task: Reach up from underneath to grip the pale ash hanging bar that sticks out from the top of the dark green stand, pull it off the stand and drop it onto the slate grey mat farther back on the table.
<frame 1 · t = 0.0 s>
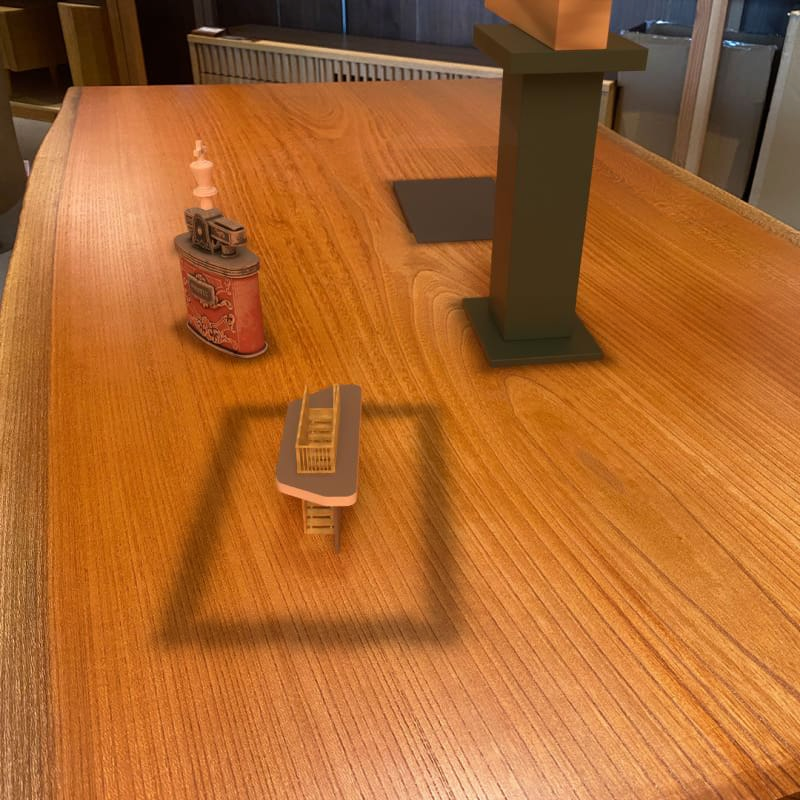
lighter: (227, 346, 61), on the table
stand: (527, 338, 62), on the table
ash bar: (537, 25, 54), point 21 cm above the table, touching stand
platform: (325, 515, 45), on the table
chess piece: (213, 254, 76), on the table
mat: (457, 213, 85), on the table
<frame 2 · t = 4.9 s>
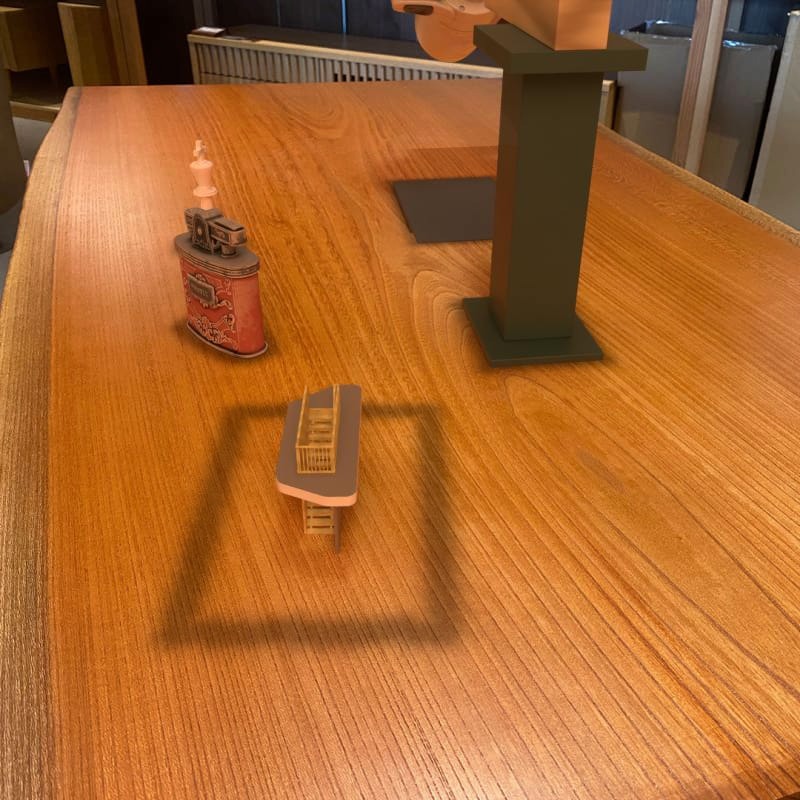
nothing on the table moved.
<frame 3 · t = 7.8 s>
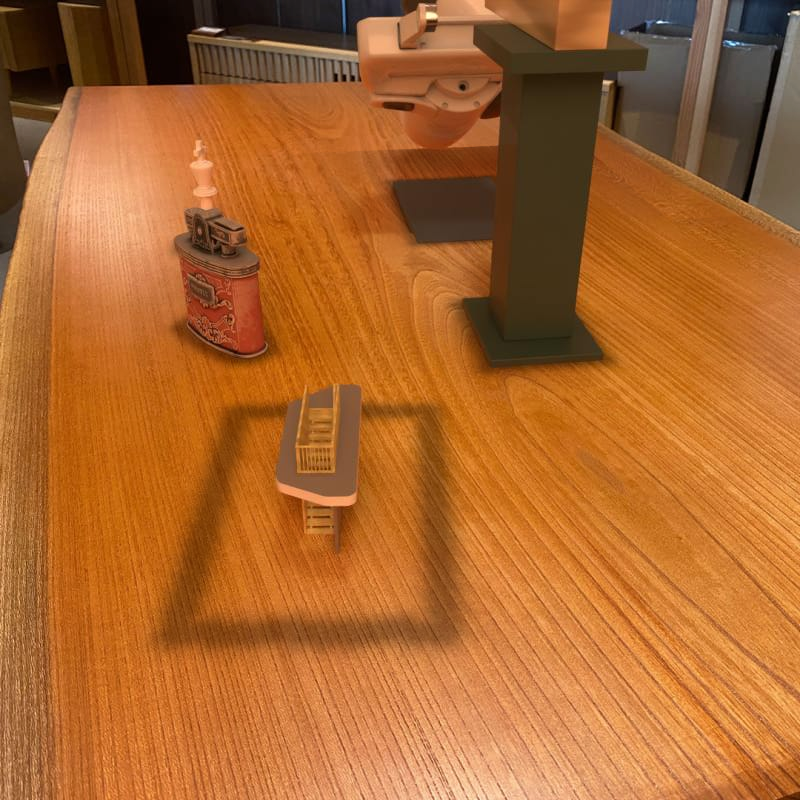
hand: (486, 11, 68), 20 cm above the table, tool pointing upward, fingers open, 8 cm apart
nothing on the table moved.
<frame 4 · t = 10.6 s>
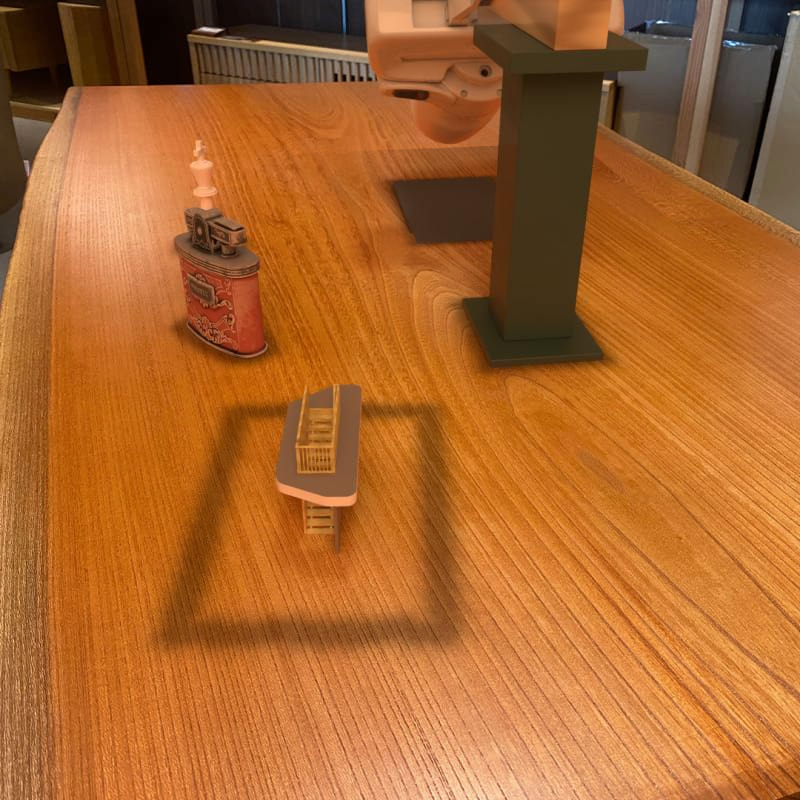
ash bar: (537, 25, 54), point 21 cm above the table, touching gripper, stand
everything else where it was.
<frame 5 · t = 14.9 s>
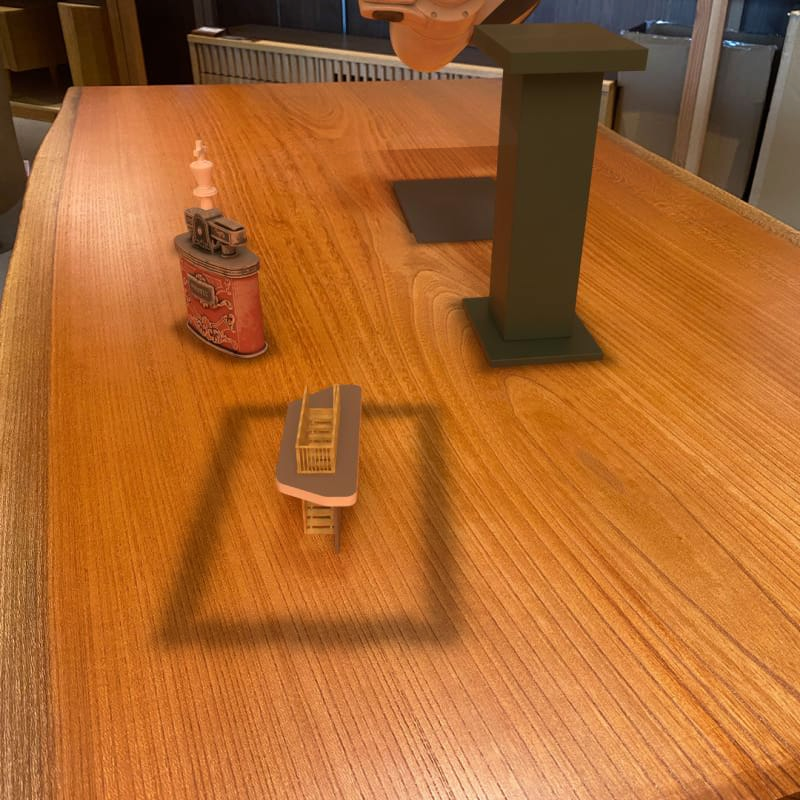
when the fingers open (17 cm above the table, at t = 19.6 s): ash bar drops 14 cm, resting on mat.
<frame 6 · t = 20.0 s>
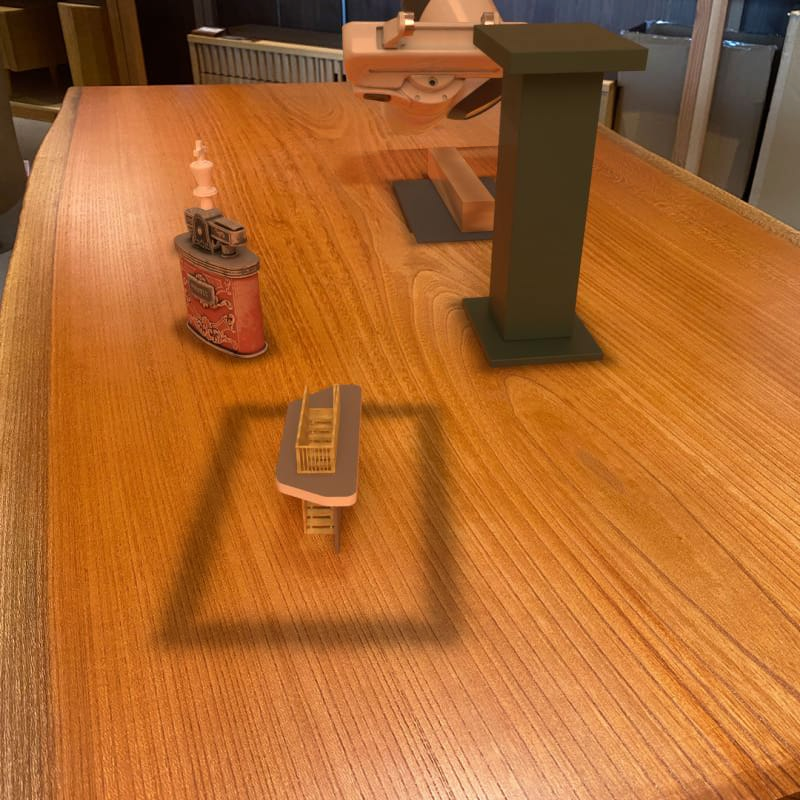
hand: (449, 19, 81), 17 cm above the table, tool pointing upward, fingers open, 7 cm apart
ash bar: (457, 200, 86), point 1 cm above the table, touching mat
everything else where it was.
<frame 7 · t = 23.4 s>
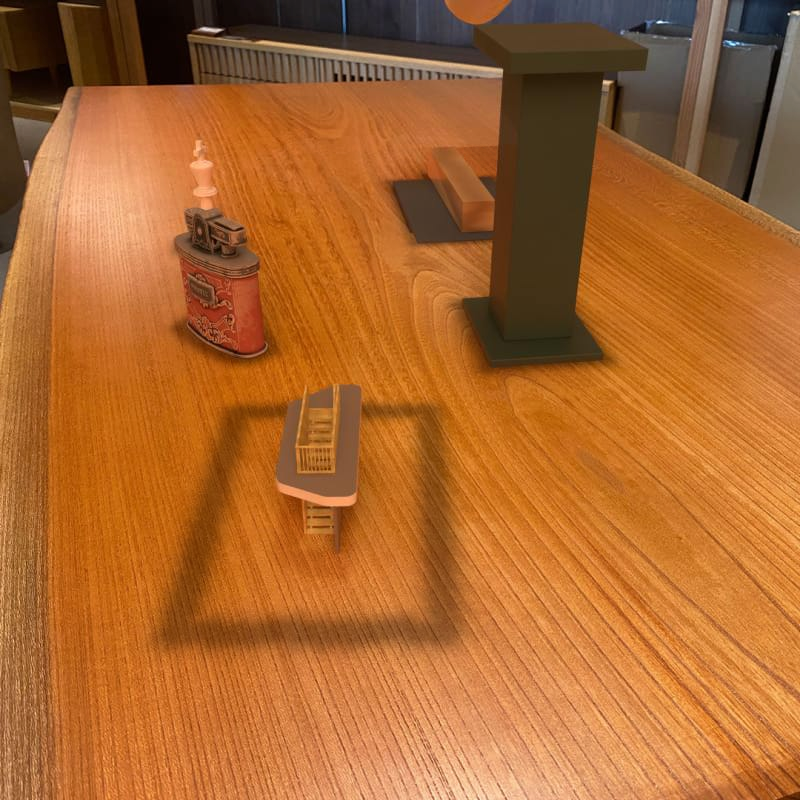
nothing on the table moved.
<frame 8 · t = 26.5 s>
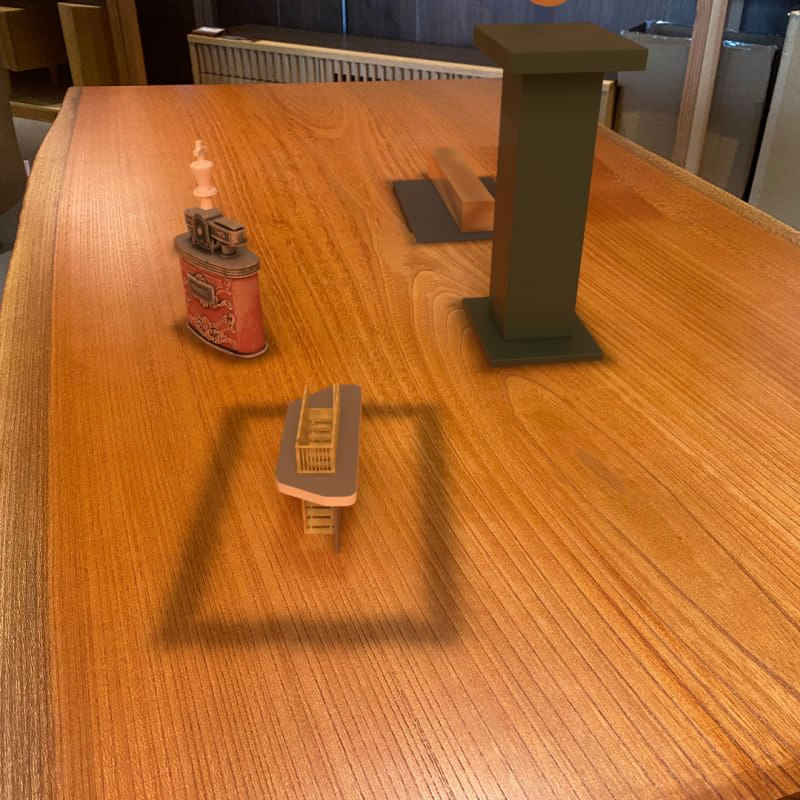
nothing on the table moved.
at the end: ash bar inside the target area on the mat (1.7 cm from its centre), point 0.8 cm above the mat's base; the gripper is holding nothing; ash bar moved 31.8 cm from its start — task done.
